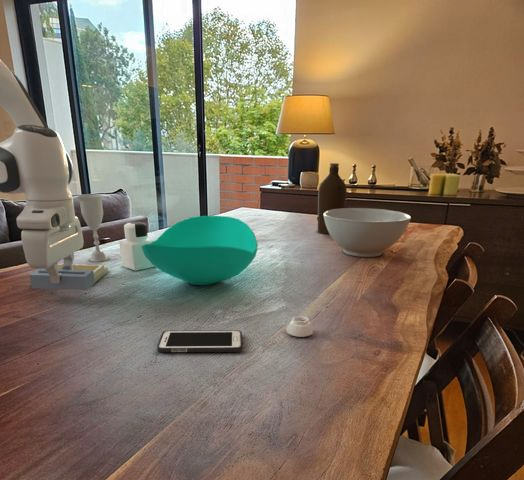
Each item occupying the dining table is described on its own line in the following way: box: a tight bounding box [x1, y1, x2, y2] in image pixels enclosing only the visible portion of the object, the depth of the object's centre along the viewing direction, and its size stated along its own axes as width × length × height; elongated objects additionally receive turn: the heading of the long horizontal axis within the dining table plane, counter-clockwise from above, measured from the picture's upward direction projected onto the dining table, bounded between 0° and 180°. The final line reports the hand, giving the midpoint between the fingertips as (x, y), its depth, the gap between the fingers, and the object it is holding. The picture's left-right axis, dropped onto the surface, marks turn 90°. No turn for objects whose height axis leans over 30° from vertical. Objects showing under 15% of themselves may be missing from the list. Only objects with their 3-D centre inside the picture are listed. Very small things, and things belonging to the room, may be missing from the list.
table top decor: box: [142, 215, 259, 286], centre depth 114 cm, size 40×28×13 cm
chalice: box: [76, 194, 109, 262], centre depth 132 cm, size 7×7×18 cm
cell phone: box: [156, 329, 243, 353], centre depth 82 cm, size 8×15×1 cm, turn 93°
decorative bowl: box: [324, 207, 412, 258], centre depth 146 cm, size 27×27×12 cm
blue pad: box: [28, 269, 96, 291], centre depth 100 cm, size 12×5×3 cm, turn 89°
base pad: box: [56, 263, 109, 283], centre depth 117 cm, size 14×14×3 cm
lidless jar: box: [286, 315, 314, 338], centre depth 87 cm, size 5×3×5 cm
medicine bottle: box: [119, 221, 156, 271], centre depth 127 cm, size 7×7×12 cm
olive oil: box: [316, 162, 348, 235], centre depth 174 cm, size 11×11×25 cm
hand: (62, 278), depth 100 cm, fingers closed on blue pad, 5 cm apart
